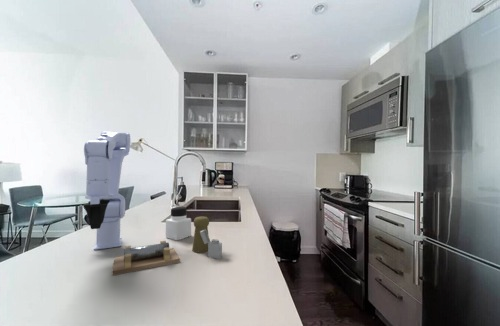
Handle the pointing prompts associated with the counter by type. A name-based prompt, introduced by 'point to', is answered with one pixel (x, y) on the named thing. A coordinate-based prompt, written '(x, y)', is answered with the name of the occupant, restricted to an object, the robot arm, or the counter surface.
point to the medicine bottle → (178, 224)
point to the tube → (146, 251)
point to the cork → (198, 242)
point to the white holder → (212, 245)
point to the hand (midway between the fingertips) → (97, 225)
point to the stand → (144, 261)
